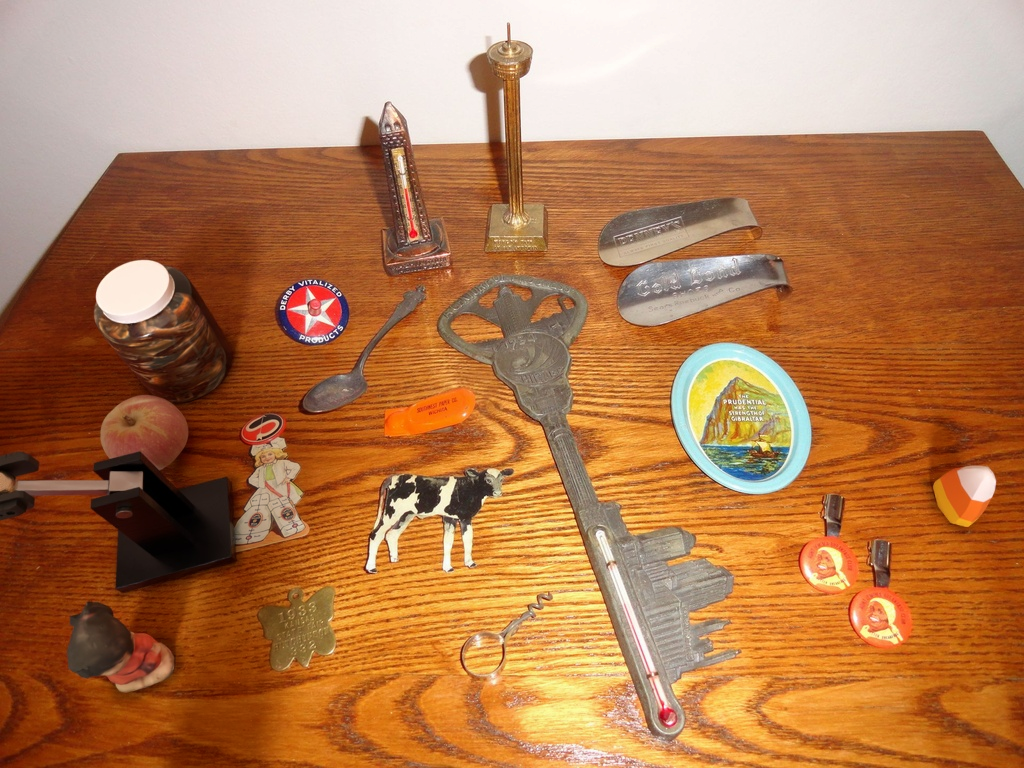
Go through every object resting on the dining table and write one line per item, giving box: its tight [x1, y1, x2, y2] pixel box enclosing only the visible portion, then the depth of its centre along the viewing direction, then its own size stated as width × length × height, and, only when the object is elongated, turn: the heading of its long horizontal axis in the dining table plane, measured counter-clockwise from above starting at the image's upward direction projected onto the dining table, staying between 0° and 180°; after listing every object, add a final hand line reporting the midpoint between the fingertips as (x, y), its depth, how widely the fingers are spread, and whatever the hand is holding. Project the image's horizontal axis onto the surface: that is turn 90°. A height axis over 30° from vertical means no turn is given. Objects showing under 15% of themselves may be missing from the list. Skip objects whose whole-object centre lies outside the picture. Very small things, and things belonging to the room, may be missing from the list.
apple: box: [100, 394, 189, 471], centre depth 80 cm, size 9×9×8 cm
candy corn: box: [932, 465, 997, 528], centre depth 72 cm, size 6×3×8 cm, turn 5°
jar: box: [93, 259, 234, 403], centre depth 84 cm, size 12×12×15 cm
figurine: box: [66, 600, 176, 693], centre depth 64 cm, size 6×6×12 cm
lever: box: [0, 470, 143, 497], centre depth 64 cm, size 13×3×3 cm, turn 106°
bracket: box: [90, 451, 237, 594], centre depth 71 cm, size 12×10×14 cm
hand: (30, 479), depth 62 cm, fingers closed on lever, 3 cm apart
